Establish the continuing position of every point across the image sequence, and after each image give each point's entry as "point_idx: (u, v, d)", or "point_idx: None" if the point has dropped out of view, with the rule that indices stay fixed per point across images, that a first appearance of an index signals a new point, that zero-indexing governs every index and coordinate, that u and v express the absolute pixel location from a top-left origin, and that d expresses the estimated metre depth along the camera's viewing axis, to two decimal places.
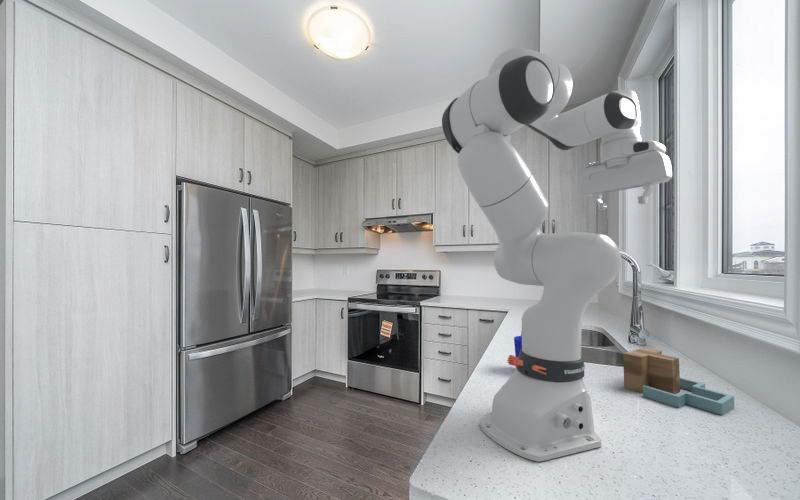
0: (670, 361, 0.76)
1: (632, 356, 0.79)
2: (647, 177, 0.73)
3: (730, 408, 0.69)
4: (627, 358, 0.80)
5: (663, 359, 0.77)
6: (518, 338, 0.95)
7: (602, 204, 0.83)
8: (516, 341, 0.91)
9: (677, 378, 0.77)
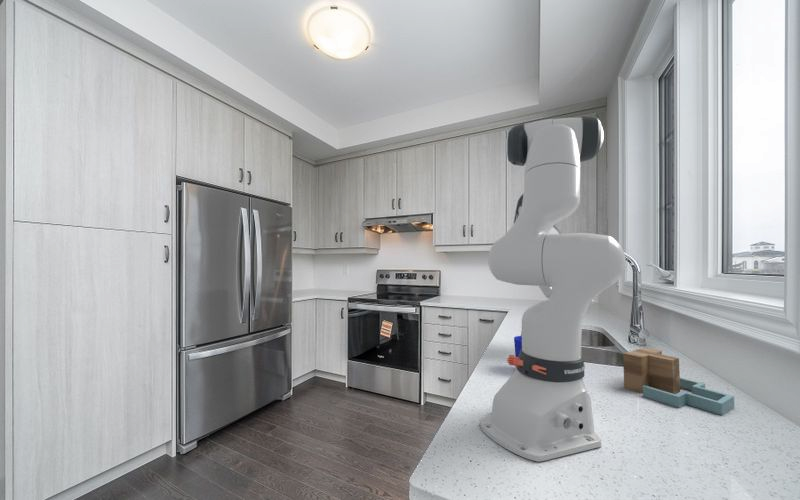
0: (670, 361, 0.76)
1: (632, 356, 0.79)
2: None
3: (730, 408, 0.69)
4: (627, 358, 0.80)
5: (663, 359, 0.77)
6: (518, 338, 0.95)
7: None
8: (516, 341, 0.91)
9: (677, 378, 0.77)
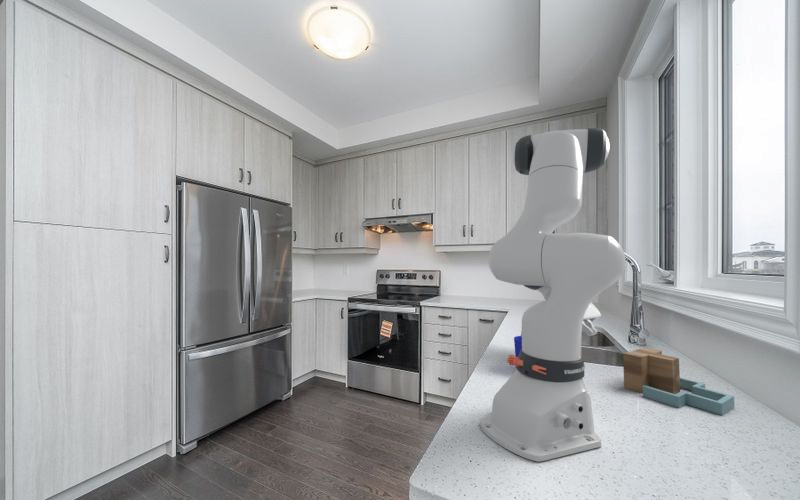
0: (670, 361, 0.76)
1: (632, 356, 0.79)
2: (594, 313, 1.00)
3: (730, 408, 0.69)
4: (627, 358, 0.80)
5: (663, 359, 0.77)
6: (518, 338, 0.95)
7: (591, 329, 0.94)
8: (516, 341, 0.91)
9: (677, 378, 0.77)
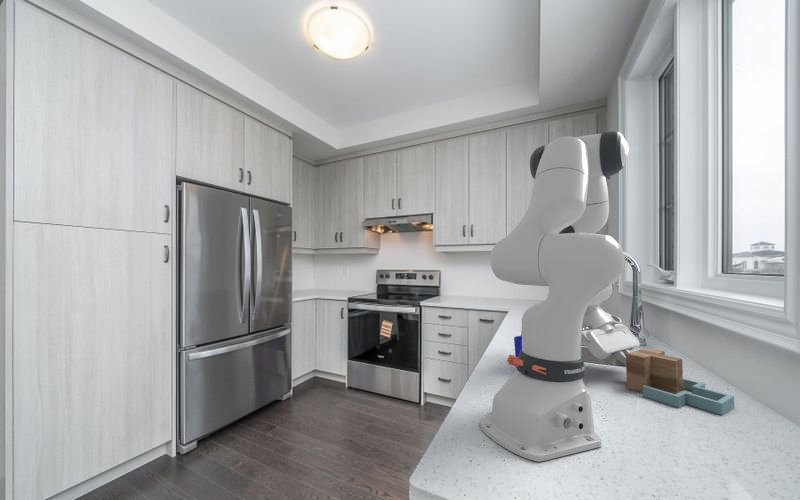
0: (673, 362, 0.75)
1: (635, 357, 0.79)
2: (633, 342, 0.90)
3: (730, 408, 0.69)
4: (630, 359, 0.80)
5: (666, 360, 0.76)
6: (518, 338, 0.95)
7: None
8: (516, 341, 0.91)
9: (681, 379, 0.76)
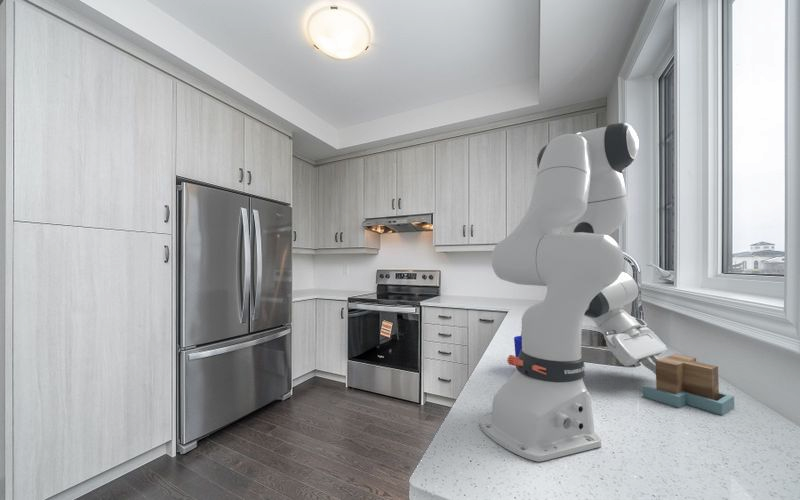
0: (709, 370, 0.70)
1: (666, 364, 0.73)
2: (660, 347, 0.84)
3: (730, 408, 0.69)
4: (660, 366, 0.74)
5: (701, 367, 0.71)
6: (518, 338, 0.95)
7: None
8: (516, 341, 0.91)
9: (717, 388, 0.70)
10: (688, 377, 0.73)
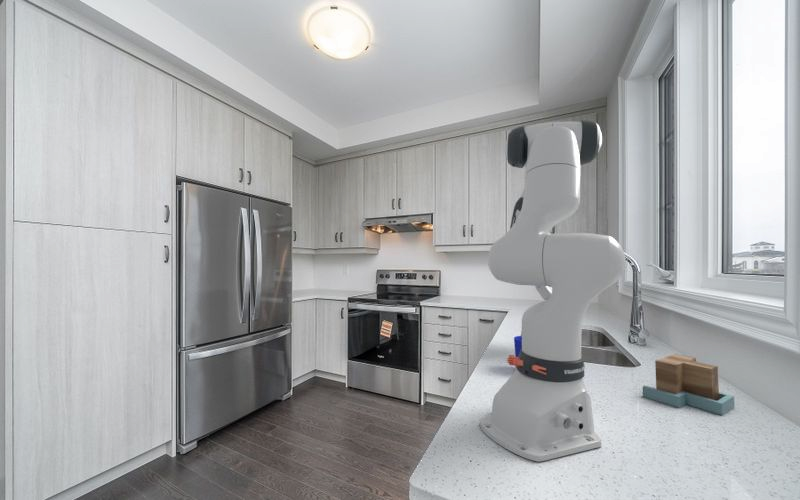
0: (709, 370, 0.70)
1: (666, 364, 0.73)
2: None
3: (730, 408, 0.69)
4: (660, 366, 0.74)
5: (701, 367, 0.71)
6: (518, 338, 0.95)
7: None
8: (516, 341, 0.91)
9: (716, 388, 0.71)
10: (688, 377, 0.73)
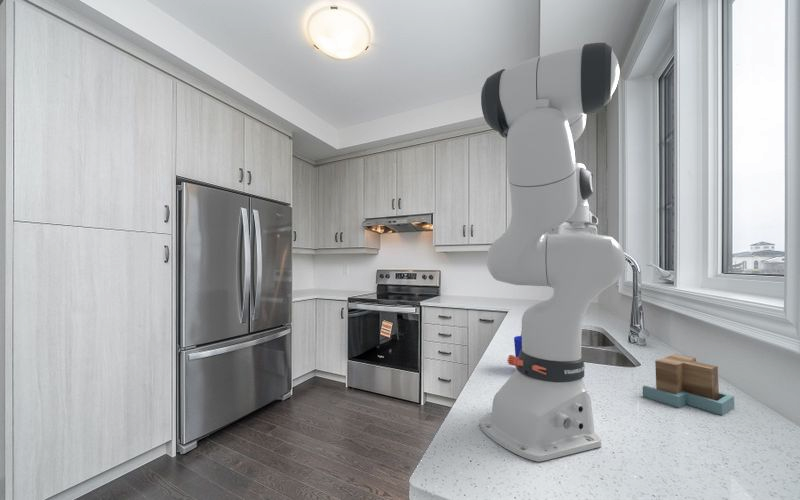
0: (709, 370, 0.70)
1: (666, 364, 0.73)
2: None
3: (730, 408, 0.69)
4: (660, 366, 0.74)
5: (701, 367, 0.71)
6: (518, 338, 0.95)
7: None
8: (516, 341, 0.91)
9: (716, 388, 0.71)
10: (688, 377, 0.73)
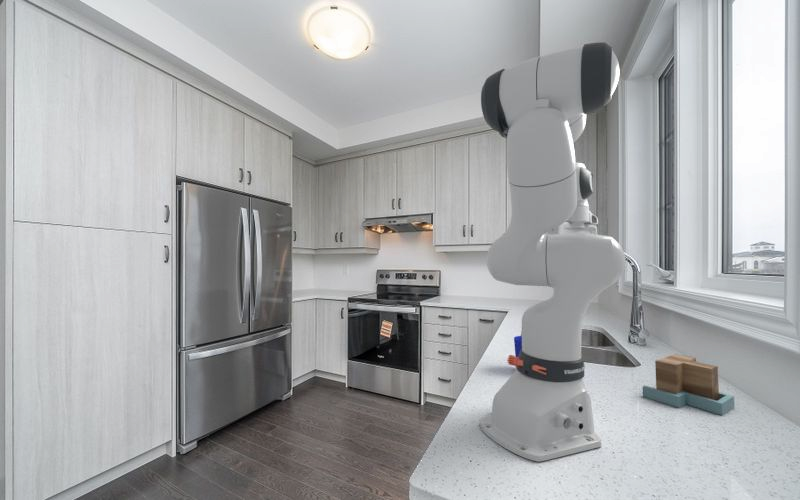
0: (709, 370, 0.70)
1: (666, 364, 0.73)
2: None
3: (730, 408, 0.69)
4: (660, 366, 0.74)
5: (701, 367, 0.71)
6: (518, 338, 0.95)
7: None
8: (516, 341, 0.91)
9: (716, 388, 0.71)
10: (688, 377, 0.73)
